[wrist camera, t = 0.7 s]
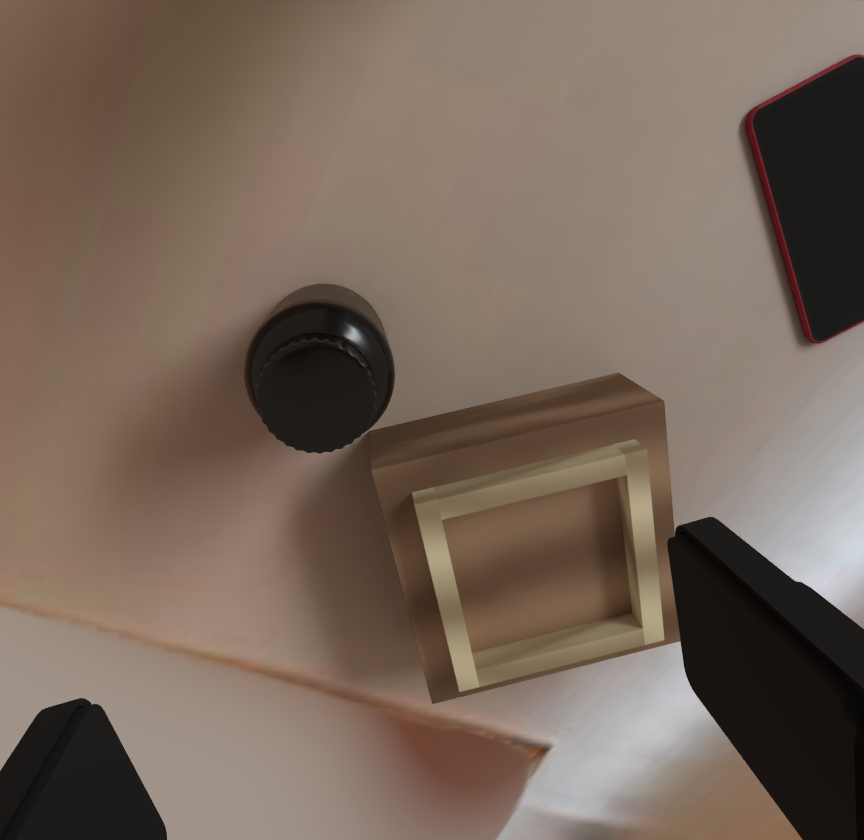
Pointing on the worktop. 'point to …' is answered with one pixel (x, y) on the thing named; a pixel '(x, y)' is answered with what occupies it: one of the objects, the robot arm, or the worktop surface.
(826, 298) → the smartphone
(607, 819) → the worktop surface
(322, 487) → the worktop surface
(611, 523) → the display riser
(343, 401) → the supplement bottle
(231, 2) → the worktop surface
